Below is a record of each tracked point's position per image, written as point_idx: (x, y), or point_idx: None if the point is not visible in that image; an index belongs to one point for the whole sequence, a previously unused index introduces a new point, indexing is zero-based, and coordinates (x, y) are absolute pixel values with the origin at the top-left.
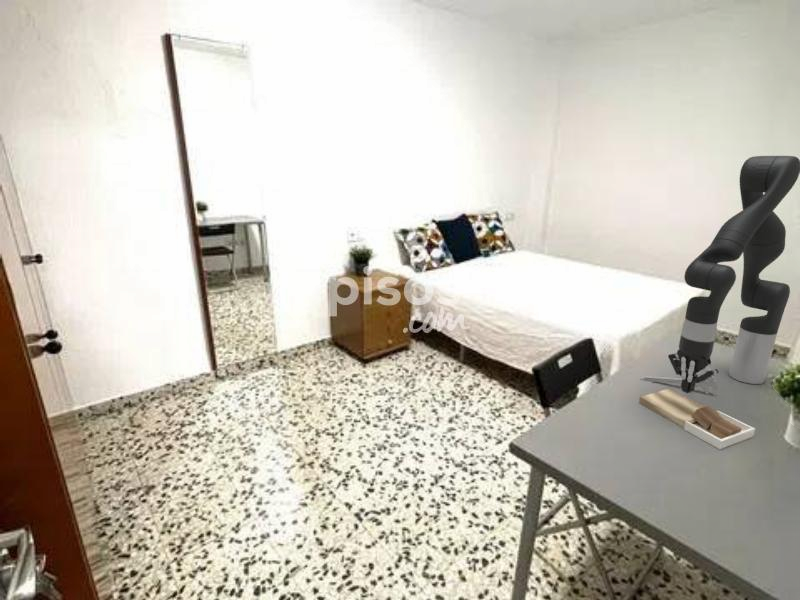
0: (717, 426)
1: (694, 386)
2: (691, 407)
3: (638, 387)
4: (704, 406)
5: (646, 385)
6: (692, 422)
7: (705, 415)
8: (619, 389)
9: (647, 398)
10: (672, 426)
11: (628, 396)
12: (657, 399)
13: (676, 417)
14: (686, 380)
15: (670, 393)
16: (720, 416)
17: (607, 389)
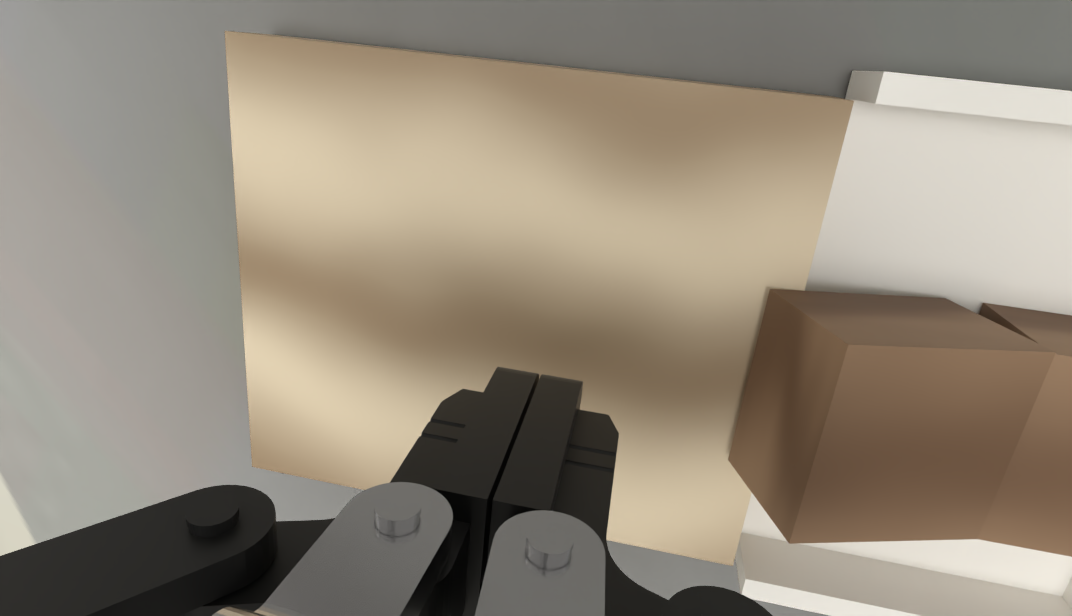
0: (1039, 544)
1: (610, 484)
2: (626, 250)
3: (71, 165)
4: (705, 84)
5: (56, 42)
6: None
7: (892, 531)
8: (61, 355)
9: (299, 441)
10: (653, 561)
11: (178, 404)
12: (350, 386)
13: (638, 541)
14: (466, 614)
15: (317, 134)
16: (1019, 360)
17: (38, 435)
